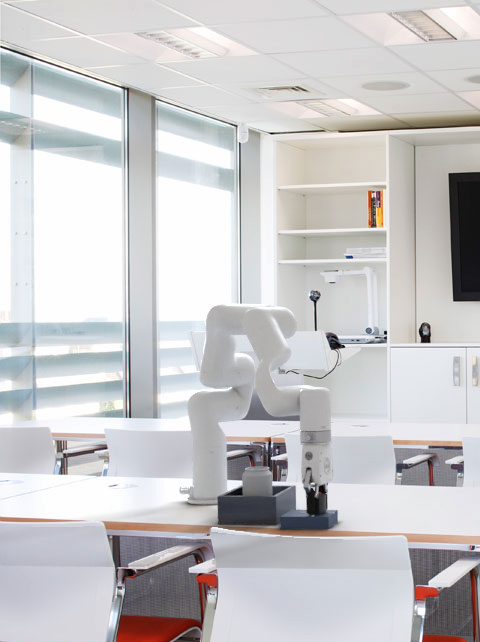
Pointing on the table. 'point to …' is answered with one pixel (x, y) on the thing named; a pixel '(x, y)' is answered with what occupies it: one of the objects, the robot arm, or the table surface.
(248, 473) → the can
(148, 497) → the table surface
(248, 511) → the open storage bin
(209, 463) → the robot arm
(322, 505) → the tap knob
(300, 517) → the panel
